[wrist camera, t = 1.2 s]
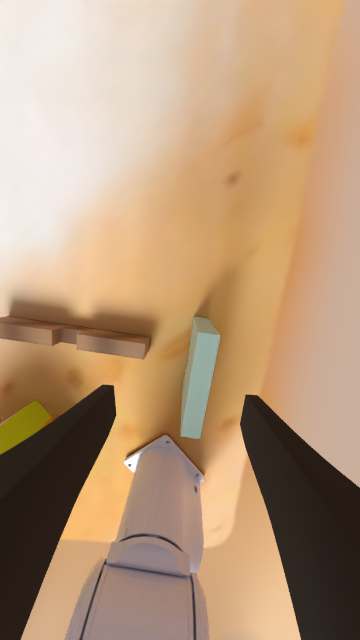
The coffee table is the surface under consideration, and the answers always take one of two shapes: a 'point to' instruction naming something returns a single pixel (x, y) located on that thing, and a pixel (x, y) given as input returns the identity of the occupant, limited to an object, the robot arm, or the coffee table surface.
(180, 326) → the coffee table surface
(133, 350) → the walnut rail
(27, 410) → the puzzle toy
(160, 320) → the coffee table surface
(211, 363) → the teal plate
